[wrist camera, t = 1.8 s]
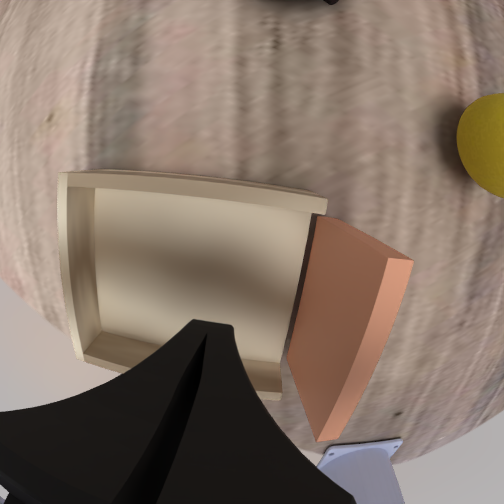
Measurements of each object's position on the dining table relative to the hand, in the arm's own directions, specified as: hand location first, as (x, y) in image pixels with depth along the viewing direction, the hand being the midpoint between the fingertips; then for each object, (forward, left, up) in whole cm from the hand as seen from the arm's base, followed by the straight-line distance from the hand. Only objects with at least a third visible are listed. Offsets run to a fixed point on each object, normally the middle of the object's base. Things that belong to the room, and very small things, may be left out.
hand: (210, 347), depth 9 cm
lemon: (+10, -13, -7) cm, 18 cm away
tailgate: (0, -4, -5) cm, 6 cm away
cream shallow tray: (0, +2, -7) cm, 7 cm away
